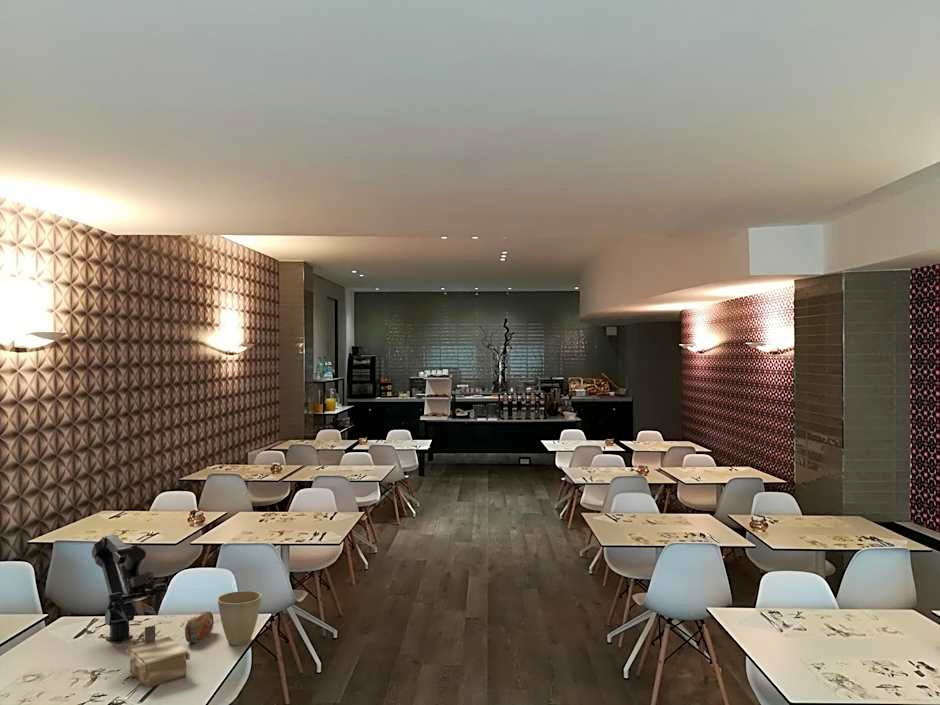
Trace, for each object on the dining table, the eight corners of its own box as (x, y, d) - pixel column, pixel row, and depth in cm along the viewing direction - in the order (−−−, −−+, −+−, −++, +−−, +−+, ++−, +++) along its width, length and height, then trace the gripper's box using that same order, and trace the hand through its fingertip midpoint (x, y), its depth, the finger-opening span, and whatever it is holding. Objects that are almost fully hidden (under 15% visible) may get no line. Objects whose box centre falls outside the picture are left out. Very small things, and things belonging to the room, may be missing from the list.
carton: (130, 671, 238) (130, 649, 238) (168, 661, 246) (168, 640, 246) (146, 688, 226) (146, 665, 226) (186, 677, 234) (186, 654, 234)
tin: (191, 646, 259) (191, 622, 259) (183, 646, 259) (183, 622, 259) (214, 631, 273) (214, 608, 274) (206, 630, 274) (206, 607, 274)
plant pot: (253, 650, 255) (253, 603, 255) (211, 649, 256) (211, 603, 256) (266, 634, 270) (266, 590, 270) (226, 634, 270) (226, 590, 271)
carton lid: (126, 655, 237) (126, 631, 237) (170, 644, 247) (170, 621, 247) (143, 672, 225) (143, 646, 225) (189, 659, 234) (189, 634, 234)
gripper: (108, 570, 246) (118, 611, 237) (165, 559, 258) (177, 598, 249) (101, 589, 251) (111, 629, 243) (157, 578, 264) (169, 616, 255)
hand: (143, 618), depth 247 cm, fingers open, 9 cm apart
